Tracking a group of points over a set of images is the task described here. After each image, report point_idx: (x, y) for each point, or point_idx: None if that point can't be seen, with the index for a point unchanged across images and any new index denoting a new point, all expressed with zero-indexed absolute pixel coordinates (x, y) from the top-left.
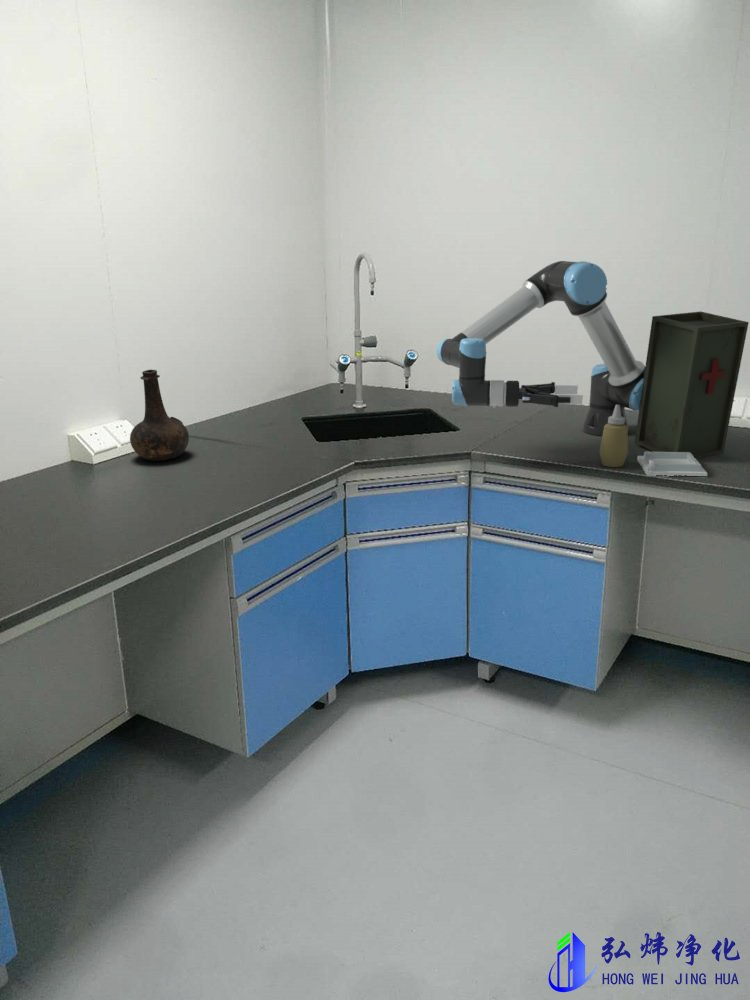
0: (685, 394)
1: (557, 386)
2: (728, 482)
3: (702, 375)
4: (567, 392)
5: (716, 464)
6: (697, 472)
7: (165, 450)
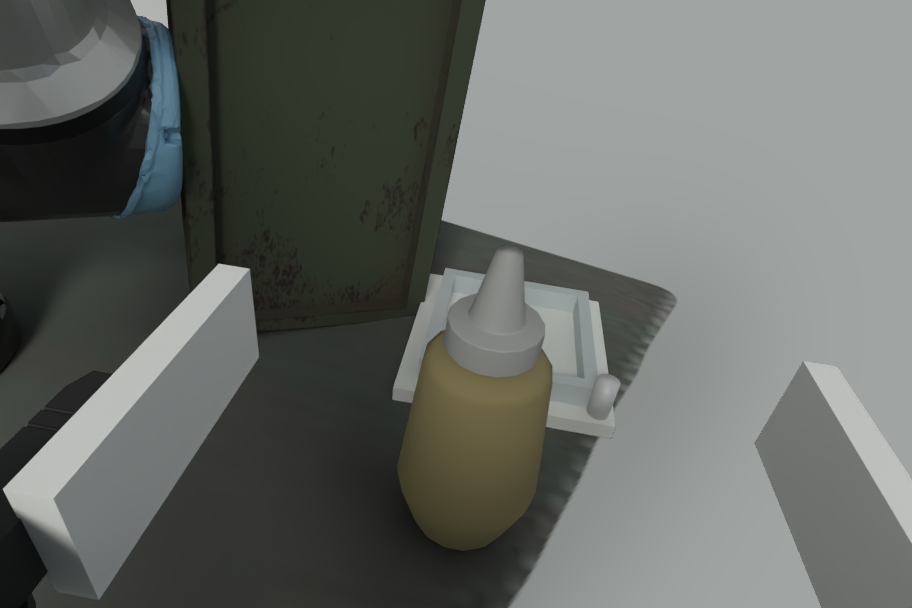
0: (461, 77)
1: (87, 476)
2: (631, 293)
3: None
4: (203, 418)
5: (468, 260)
6: (594, 316)
7: None
